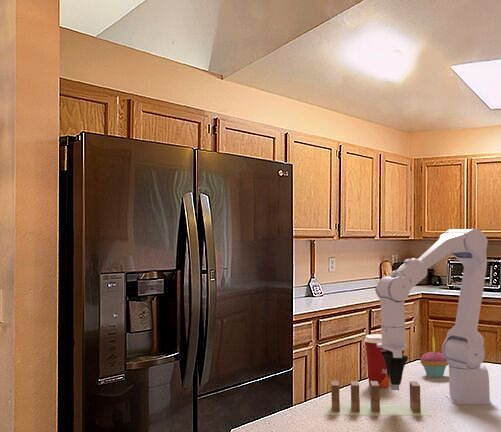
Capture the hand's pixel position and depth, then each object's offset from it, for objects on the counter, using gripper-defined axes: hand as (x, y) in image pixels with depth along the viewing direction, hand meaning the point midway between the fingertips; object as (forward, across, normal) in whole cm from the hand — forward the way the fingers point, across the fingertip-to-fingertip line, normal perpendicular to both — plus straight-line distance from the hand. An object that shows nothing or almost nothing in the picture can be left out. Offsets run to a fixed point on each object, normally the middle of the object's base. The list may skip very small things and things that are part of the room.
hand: (394, 381), depth 148 cm
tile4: (+7, 0, -10) cm, 12 cm away
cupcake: (+7, -37, +17) cm, 41 cm away
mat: (+7, 0, -5) cm, 9 cm away
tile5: (+7, 0, -14) cm, 16 cm away
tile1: (+7, 0, +5) cm, 8 cm away
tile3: (+7, 0, -5) cm, 8 cm away
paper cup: (+7, -25, -1) cm, 26 cm away
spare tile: (+2, 0, 0) cm, 2 cm away
